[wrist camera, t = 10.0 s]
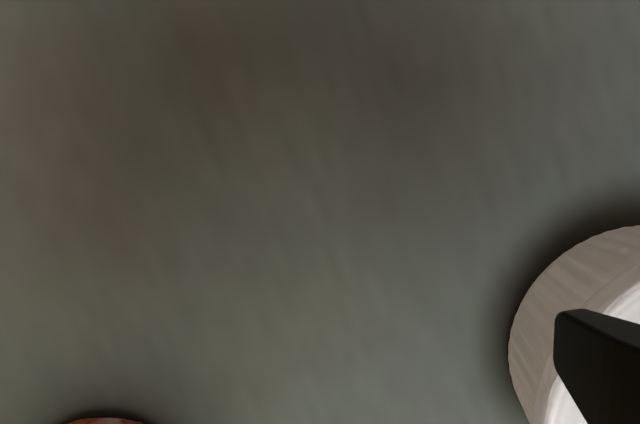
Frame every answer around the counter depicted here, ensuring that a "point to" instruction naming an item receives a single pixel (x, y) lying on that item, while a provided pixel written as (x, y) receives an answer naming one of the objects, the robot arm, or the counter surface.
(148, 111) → the counter surface
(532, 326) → the ramekin
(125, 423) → the sauce bottle
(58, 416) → the counter surface
